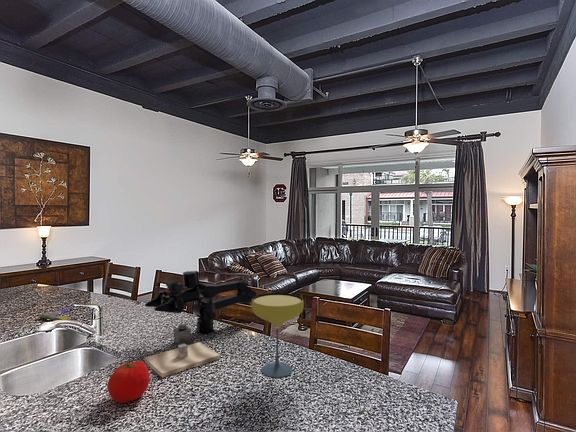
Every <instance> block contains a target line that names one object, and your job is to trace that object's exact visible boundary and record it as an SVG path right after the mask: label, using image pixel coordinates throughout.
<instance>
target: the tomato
mask: <svg viewBox="0 0 576 432" xmlns="http://www.w3.org/2000/svg"><path fill="white" fill-rule="evenodd" d="M149 384H150V372H149V369H148V367H147V365H146V363H145V361H142V360H137V361H133V362H129V360H126V363H123V364H121V365H120V366H117V367H116V368H115V370H113V372H112V374H111V376H110V377H109V378H108V382H107V386H106V390H107V392H108V394H109V396H110V398H111V399H112V400H113V402H116V403H120V404H123V403H127V402H132V401H135V400H136V399H139V398H140V397H141V396H143V394H144V393H145V392H146V390H147V388H148V387H149Z"/></svg>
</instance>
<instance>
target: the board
mask: <svg viewBox="0 0 576 432" xmlns="http://www.w3.org/2000/svg"><path fill="white" fill-rule="evenodd" d="M220 359H221V354H220V353H218V352H216V351H215V350H213V349H212V348H210V347H208V346H207V345H205V344H204V343H202V342H195V343H191V344H187V345H186V344H185V343H184V344H181V345H177V348H174V349H170V350H167V351H164V352H160V353H157V354H153V355H149V356H146V357H144V364H145V365H146V364H147V366H148V367H150V368H151V369H152V370H153V371H154V372H155V373H156V374H158V376H159V377H161V378H162V379H163V378H165V377H166V378H167V377H169V375H170V376H172V374H173V375H175V373H176V374H179V373H181V371H182V372H184V371H183V370H185V371H187V370H186V369H188V370H191V369H193V367H194V368H196V367H199V366H202V365H205V364H209V363H211V362H215V361H217V360H220ZM190 368H191V369H190ZM178 372H179V373H178Z"/></svg>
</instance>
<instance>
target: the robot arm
mask: <svg viewBox="0 0 576 432" xmlns="http://www.w3.org/2000/svg"><path fill="white" fill-rule="evenodd" d="M199 275H200V272H199V271H198V270H191V271H189V270H187V271H184V272H182V278H183V279H182V280H183V283H182V282H178V281H177V280H175V279H171V280H169V281H168V282H166V283H165V286H166V287H167V289H168V292H166V291H164V290H159V291H157V293H156V295H155V297H154V298H153V299H151V300H150V301H147V302H145V304H144V305H145V307H147V308H149V307H150V308H153V309H154V311H155V312H163V313H172V314H182V313H183V312H184V310H185V308H184V307H185V306H187V305H188V304H191V303H194V304H193V306H192V312H193V313H194V314H195V317H197V322H196V329H195V331H196V332H197V333H199V334H201V335H206V334H209V333H214V332H216V329H214V320H215V319H216V316H217V314H216V313H215V312H216V311H217V310H221V309H223V308H226V307H230V306H233V305H237V304H240V303H252V299H253V298H254V297H255V296H257V292H256V291H255V290H253V289H252V288H250V287H249V286H248V285H246V283H244V282H243V281H242V280H239V279H238V280H234V281H228V282H223V283H217V284H215V283H214V284H213V283H201V282H200V279H199V278H200V276H199ZM184 287H186V289H184V290H182V289H183V288H184ZM233 291H236V292H237V293H235V294H231V295H227V296H224V297H221V298H217V299H214V300H212V299H211V298H213V297H216V296H217V295H219V294H223V293H228V292H233ZM201 298H202V299H201Z"/></svg>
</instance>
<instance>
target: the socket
mask: <svg viewBox="0 0 576 432" xmlns="http://www.w3.org/2000/svg"><path fill="white" fill-rule="evenodd" d="M191 342H192V329H191V328H190V327H189V326H188V327H187V324H180V325H178V327H175V328H173V343H174V344H175V345H176V346H178V345H181V344H184V343H185V344H186V345H191V344H192V343H191Z"/></svg>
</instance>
